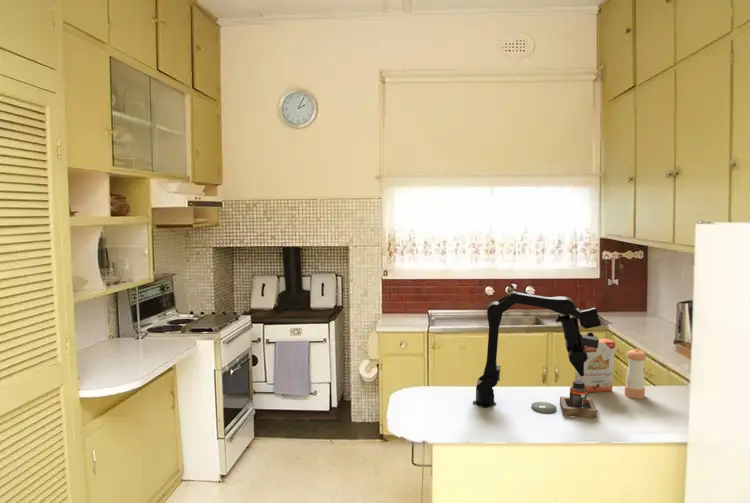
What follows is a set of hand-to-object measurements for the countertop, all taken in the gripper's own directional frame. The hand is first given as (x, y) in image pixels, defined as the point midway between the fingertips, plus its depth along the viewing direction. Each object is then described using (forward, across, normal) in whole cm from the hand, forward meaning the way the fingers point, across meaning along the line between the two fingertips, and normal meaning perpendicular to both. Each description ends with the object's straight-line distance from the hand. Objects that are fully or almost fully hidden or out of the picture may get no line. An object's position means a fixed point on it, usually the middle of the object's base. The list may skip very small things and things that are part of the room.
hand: (581, 372), depth 206 cm
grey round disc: (+12, +1, +16) cm, 20 cm away
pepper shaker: (+21, +24, -18) cm, 36 cm away
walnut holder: (+15, +1, +4) cm, 15 cm away
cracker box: (+17, +26, -4) cm, 31 cm away
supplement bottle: (+15, +1, +4) cm, 16 cm away
